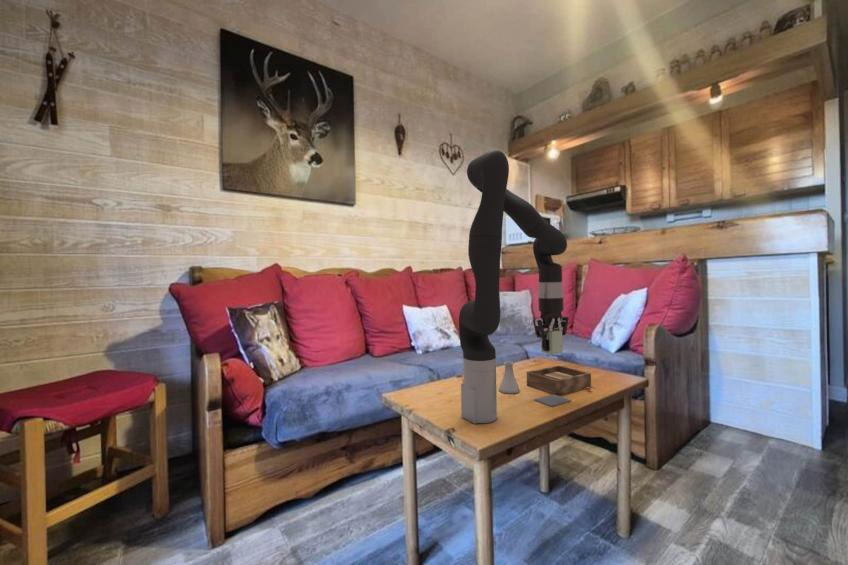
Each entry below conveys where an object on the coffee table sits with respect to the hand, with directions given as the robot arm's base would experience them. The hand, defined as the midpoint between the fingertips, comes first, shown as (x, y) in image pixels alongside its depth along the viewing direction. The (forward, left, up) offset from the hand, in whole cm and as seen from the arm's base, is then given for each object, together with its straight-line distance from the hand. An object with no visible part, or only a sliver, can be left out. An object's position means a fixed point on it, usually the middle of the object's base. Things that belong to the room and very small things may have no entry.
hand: (551, 349), depth 114 cm
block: (0, 0, -1) cm, 1 cm away
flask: (-5, +15, -17) cm, 23 cm away
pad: (0, 0, -16) cm, 16 cm away
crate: (+13, +9, -16) cm, 23 cm away
